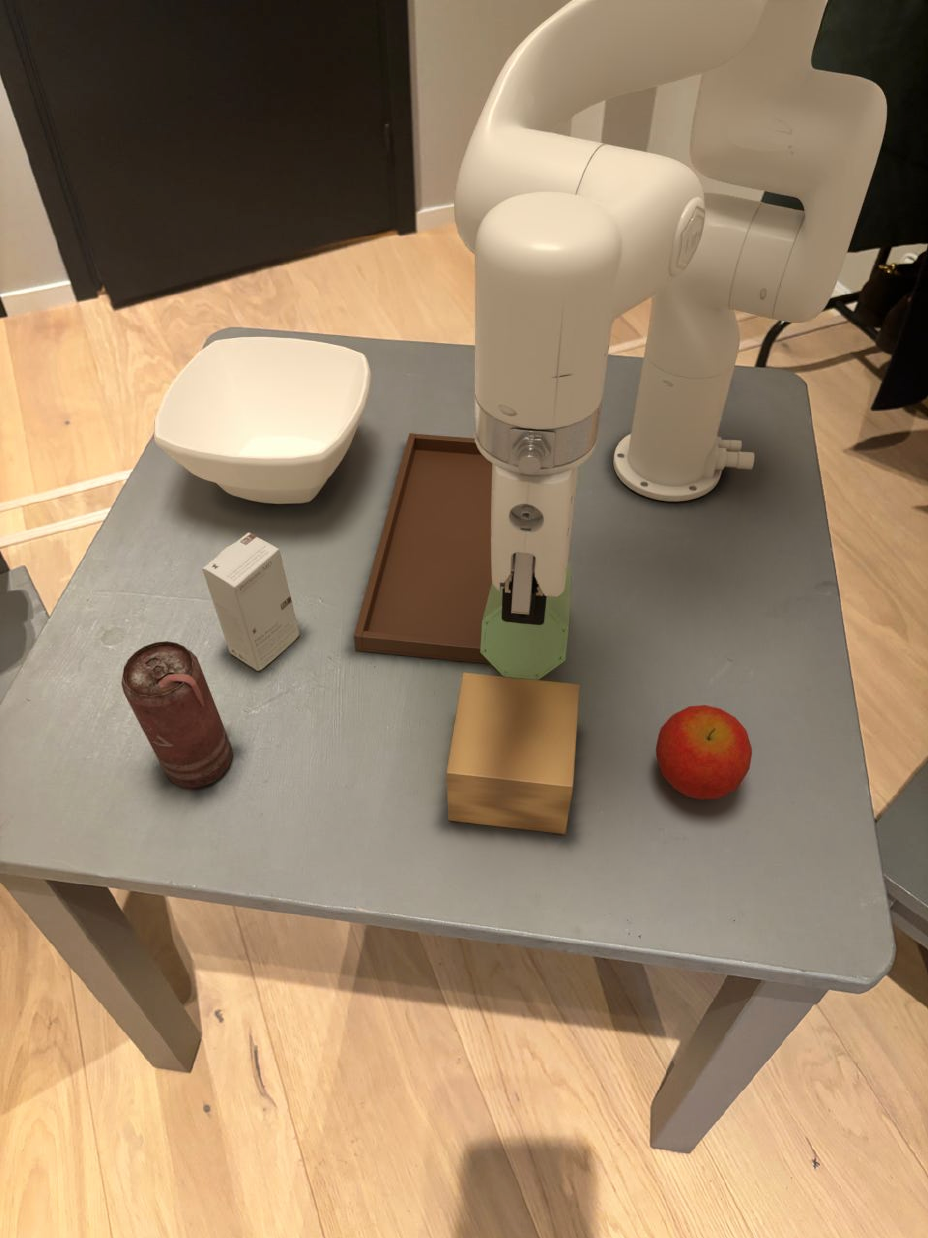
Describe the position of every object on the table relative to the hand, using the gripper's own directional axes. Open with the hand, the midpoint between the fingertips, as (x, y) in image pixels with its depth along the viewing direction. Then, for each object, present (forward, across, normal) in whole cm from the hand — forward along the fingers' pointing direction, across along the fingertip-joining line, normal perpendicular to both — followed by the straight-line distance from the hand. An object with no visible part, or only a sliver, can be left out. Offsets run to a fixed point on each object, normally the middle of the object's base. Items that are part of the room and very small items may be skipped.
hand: (523, 615), depth 68 cm
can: (+18, -5, +28) cm, 34 cm away
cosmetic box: (+18, +9, +26) cm, 33 cm away
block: (+18, -3, 0) cm, 18 cm away
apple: (+18, -1, -16) cm, 24 cm away
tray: (+18, +25, +8) cm, 32 cm away
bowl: (+18, +34, +31) cm, 49 cm away
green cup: (+7, +3, 0) cm, 7 cm away
